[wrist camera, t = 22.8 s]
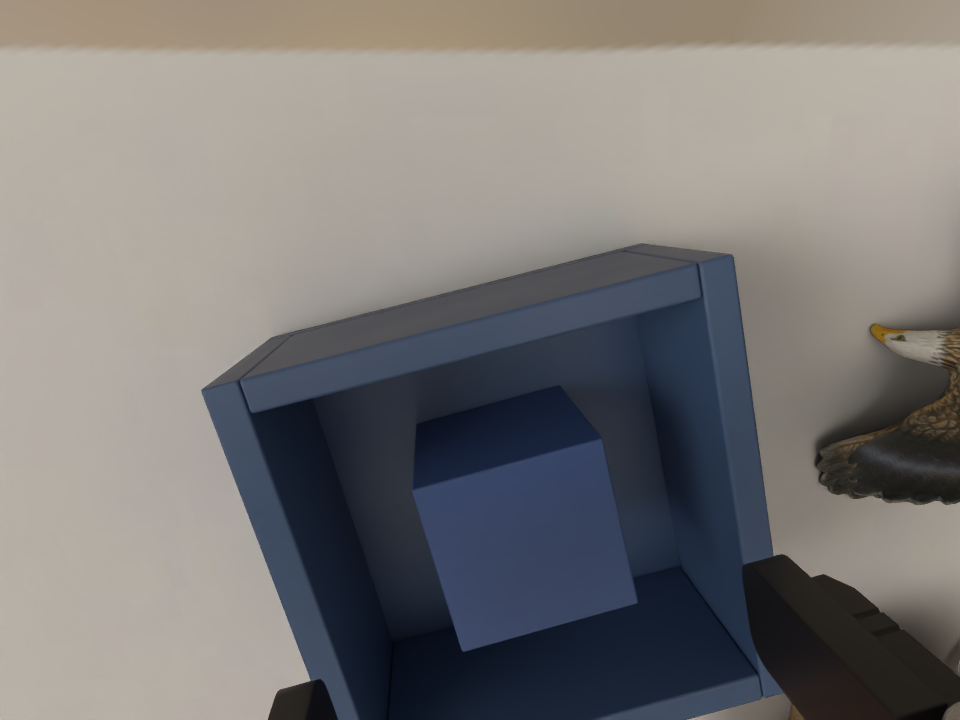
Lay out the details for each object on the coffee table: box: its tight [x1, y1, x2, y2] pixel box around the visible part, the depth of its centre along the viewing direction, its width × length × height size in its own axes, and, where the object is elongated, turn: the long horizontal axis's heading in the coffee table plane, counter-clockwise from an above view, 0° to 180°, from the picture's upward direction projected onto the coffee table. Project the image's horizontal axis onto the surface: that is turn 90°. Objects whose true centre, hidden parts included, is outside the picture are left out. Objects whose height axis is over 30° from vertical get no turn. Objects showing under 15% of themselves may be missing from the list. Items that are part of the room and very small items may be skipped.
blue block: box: [412, 386, 638, 652], centre depth 16 cm, size 5×5×5 cm
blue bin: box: [202, 244, 784, 720], centre depth 16 cm, size 12×12×6 cm
